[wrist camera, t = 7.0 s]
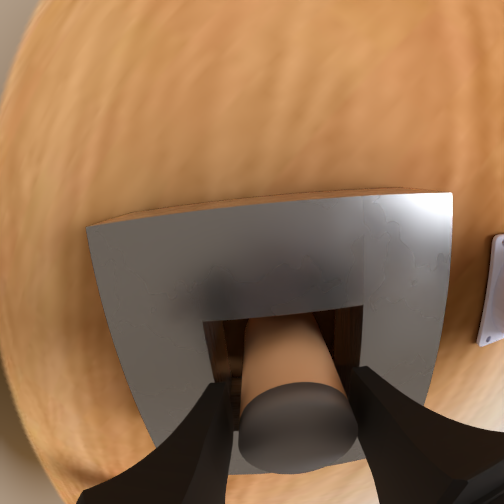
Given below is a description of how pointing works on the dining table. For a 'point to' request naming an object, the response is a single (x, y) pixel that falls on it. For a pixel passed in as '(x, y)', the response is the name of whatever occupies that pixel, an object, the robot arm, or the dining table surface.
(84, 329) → the dining table surface
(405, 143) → the dining table surface
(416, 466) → the robot arm
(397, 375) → the block
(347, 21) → the dining table surface
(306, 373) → the pin
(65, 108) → the dining table surface
